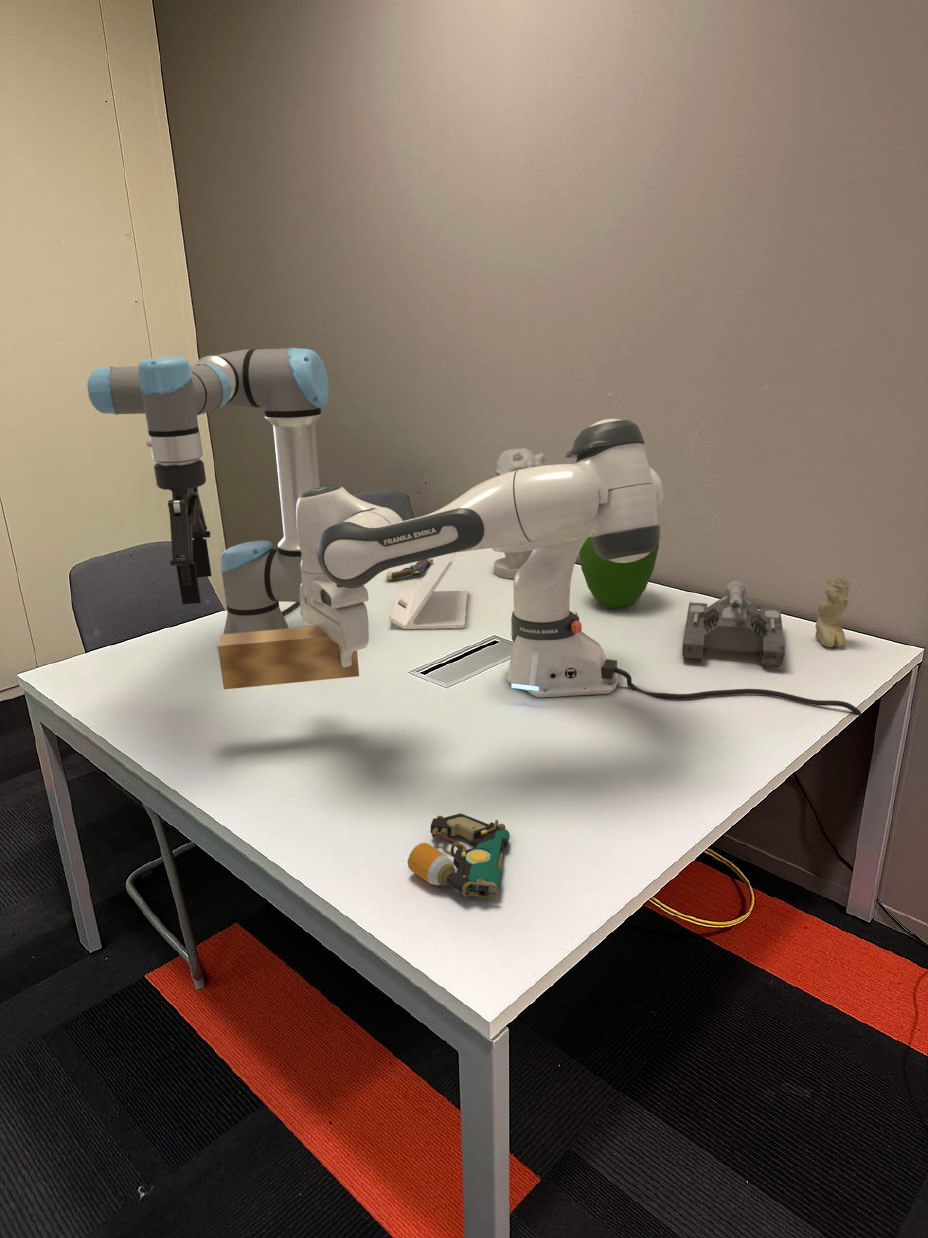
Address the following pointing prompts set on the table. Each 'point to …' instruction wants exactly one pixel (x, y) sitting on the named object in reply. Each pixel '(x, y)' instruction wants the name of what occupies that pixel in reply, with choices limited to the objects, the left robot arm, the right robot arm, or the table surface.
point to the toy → (734, 628)
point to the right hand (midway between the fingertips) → (335, 658)
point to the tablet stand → (430, 602)
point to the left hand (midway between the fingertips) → (197, 589)
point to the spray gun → (463, 856)
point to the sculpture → (832, 613)
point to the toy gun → (409, 570)
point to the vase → (615, 577)
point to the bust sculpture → (505, 464)
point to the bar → (280, 657)
